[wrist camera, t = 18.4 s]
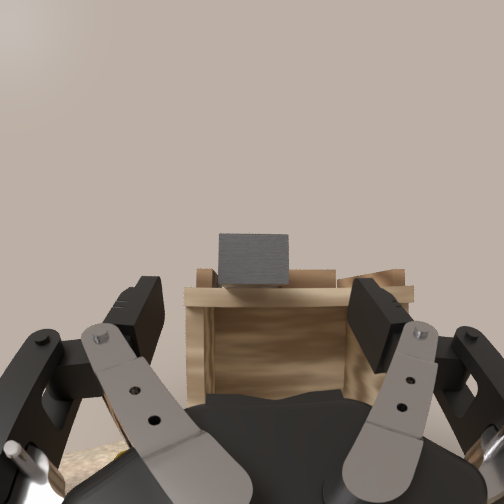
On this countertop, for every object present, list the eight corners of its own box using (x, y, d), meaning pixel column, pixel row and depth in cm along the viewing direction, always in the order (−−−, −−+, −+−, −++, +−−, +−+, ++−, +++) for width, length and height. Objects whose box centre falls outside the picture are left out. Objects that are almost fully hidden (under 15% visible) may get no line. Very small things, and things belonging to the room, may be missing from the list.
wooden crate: (375, 540, 21) (413, 269, 25) (201, 558, 20) (184, 268, 24) (339, 481, 36) (352, 279, 41) (209, 489, 36) (204, 279, 40)
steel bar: (288, 283, 15) (288, 234, 16) (218, 283, 15) (219, 233, 16) (257, 291, 39) (257, 271, 39) (229, 291, 39) (229, 271, 39)
